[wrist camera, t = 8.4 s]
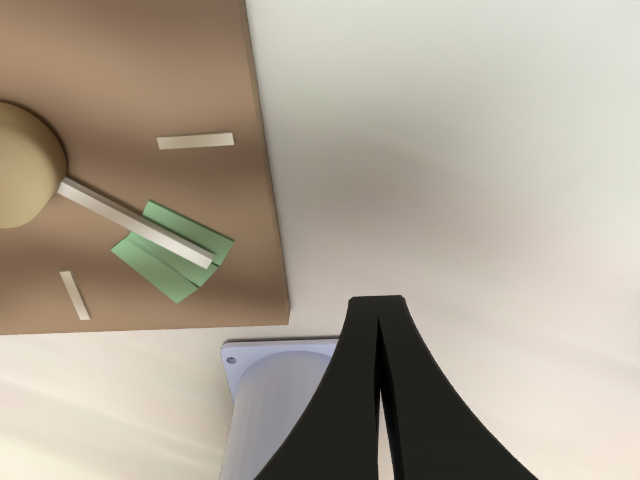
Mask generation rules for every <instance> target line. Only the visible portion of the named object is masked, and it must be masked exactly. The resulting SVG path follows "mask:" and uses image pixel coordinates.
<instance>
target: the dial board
mask: <svg viewBox="0 0 640 480" xmlns="http://www.w3.org/2000/svg"><path fill="white" fill-rule="evenodd" d="M0 102H3V103H7V104H11V105H14V106H16V107H19V108H21V109H23V110H25V111H27V112H29V113H30V114H32V115H34V116H35V117H36V118H38V119H39V120H40V121H41V122H42V123H43V124H45V125H46V126H47V127H48V128H49V130H50V131H51V132H52V133H53V134H54V136H55V137H56V138H57V140H58V142H59V144H60V145H61V148H62V150H63V152H64V156H65V159H66V177H67V178H68V179H70V180H72V181H74V182H76V183H78V184H80V185H82V186H84V187H86V188H88V189H89V190H91V191H93V192H95V193H97V194H99V195H101V196H103V197H105V198H107V199H109V200H110V201H112V202H114V203H116V204H118V205H120V206H122V207H124V208H126V209H128V210H130V211H131V212H133V213H135V214H137V215H139V216H141V217H143V218H145V219H147V220H149V221H151V222H152V223H154V224H156V225H158V226H160V227H162V228H164V229H166V230H168V231H170V232H172V233H174V234H175V235H177V236H179V237H181V238H183V239H185V240H187V241H189V242H191V243H193V244H195V245H196V246H198V247H200V248H202V249H204V250H206V251H208V252H210V253H212V254H214V258H213V260H212V262H211V263H210V265H209V266H208V268H207V269H205V268H203V267H201V266H199V265H197V264H195V263H193V262H191V261H189V260H187V259H186V258H184V257H182V256H180V255H178V254H176V253H174V252H172V251H170V250H168V249H166V248H164V247H162V246H160V245H158V244H156V243H154V242H152V241H150V240H148V239H147V238H145V237H143V236H141V235H139V234H137V233H135V232H133V231H131V230H129V229H127V228H125V227H123V226H121V225H119V224H117V223H115V222H113V221H111V220H109V219H108V218H106V217H104V216H102V215H100V214H98V213H96V212H94V211H92V210H90V209H88V208H86V207H84V206H82V205H80V204H78V203H76V202H74V201H72V200H70V199H69V198H67V197H65V196H63V195H61V194H59V193H56V194H55V195H54V196H53V197H52V199H51V200H50V201H49V202H48V203H47V204H46V205H45V206H44V207H43V208H42V210H41V211H40V212H39V213H38V214H37V215H36V216H35V217H34V218H33V219H32V220H31V221H29V222H27V223H26V224H23V225H21V226H18V227H14V228H0V335H17V334H45V333H73V332H101V331H128V330H156V329H184V328H212V327H240V326H268V325H288V323H289V315H290V303H289V296H288V290H287V283H286V276H285V269H284V263H283V256H282V249H281V242H280V236H279V229H278V222H277V215H276V209H275V202H274V195H273V188H272V182H271V175H270V168H269V161H268V155H267V148H266V141H265V135H264V128H263V121H262V114H261V108H260V101H259V94H258V87H257V81H256V74H255V67H254V60H253V54H252V47H251V40H250V33H249V27H248V20H247V13H246V6H245V0H0Z"/></svg>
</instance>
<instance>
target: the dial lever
mask: <svg viewBox="0 0 640 480" xmlns="http://www.w3.org/2000/svg"><path fill="white" fill-rule="evenodd" d="M56 193H59V194H61V195H63V196H65V197H67V198H69V199H70V200H72V201H74V202H76V203H78V204H80V205H82V206H84V207H86V208H88V209H90V210H92V211H94V212H96V213H98V214H100V215H102V216H104V217H106V218H108V219H109V220H111V221H113V222H115V223H117V224H119V225H121V226H123V227H125V228H127V229H129V230H131V231H133V232H135V233H137V234H139V235H141V236H143V237H145V238H147V239H148V240H150V241H152V242H154V243H156V244H158V245H160V246H162V247H164V248H166V249H168V250H170V251H172V252H174V253H176V254H178V255H180V256H182V257H184V258H186V259H187V260H189V261H191V262H193V263H195V264H197V265H199V266H201V267H203V268H205V269H207V268H208V266H209V265H210V263H211V262H212V260H213V258H214V254H212V253H210V252H208V251H206V250H204V249H202V248H200V247H198V246H196V245H195V244H193V243H191V242H189V241H187V240H185V239H183V238H181V237H179V236H177V235H175V234H174V233H172V232H170V231H168V230H166V229H164V228H162V227H160V226H158V225H156V224H154V223H152V222H151V221H149V220H147V219H145V218H143V217H141V216H139V215H137V214H135V213H133V212H131V211H130V210H128V209H126V208H124V207H122V206H120V205H118V204H116V203H114V202H112V201H110V200H109V199H107V198H105V197H103V196H101V195H99V194H97V193H95V192H93V191H91V190H89V189H88V188H86V187H84V186H82V185H80V184H78V183H76V182H74V181H72V180H70V179H68V178H67V177H66V159H65V156H64V152H63V150H62V148H61V145H60V144H59V142H58V140H57V138H56V137H55V136H54V134H53V133H52V132H51V131H50V130H49V128H48V127H47V126H46V125H45V124H43V123H42V122H41V121H40V120H39V119H38V118H36V117H35V116H34V115H32V114H30V113H29V112H27V111H25V110H23V109H21V108H19V107H16V106H14V105H11V104H7V103H3V102H0V228H14V227H18V226H21V225H23V224H26V223H27V222H29V221H31V220H32V219H33V218H34V217H35V216H36V215H37V214H38V213H39V212H40V211H41V210H42V208H43V207H44V206H45V205H46V204H47V203H48V202H49V201H50V200H51V199H52V197H53V196H54V195H55V194H56Z"/></svg>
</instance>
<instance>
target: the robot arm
mask: <svg viewBox="0 0 640 480" xmlns="http://www.w3.org/2000/svg"><path fill="white" fill-rule="evenodd" d="M221 357H222V361H223V365H224V369H225V372H226V376H227V380H228V384H229V388H230V392H231V396H232V400H233V403H234V409H233V414H232V419H231V424H230V429H229V434H228V438H227V443H226V448H225V453H224V458H223V463H222V467H221V472H220V477H219V480H379V478H378V435H379V409H380V390H381V396H382V402H383V409H384V415H385V421H386V427H387V433H388V440H389V446H390V452H391V458H392V464H393V472H394V480H538V479H537V478H536V477H535V476H534V475H533V474H532V473H531V472H530V471H528V470H527V469H526V468H525V467H524V466H523V465H522V464H521V463H520V462H519V461H518V460H517V459H516V458H515V457H514V456H513V455H512V454H511V453H510V452H509V451H508V450H507V449H506V448H505V447H504V446H503V445H502V444H501V443H500V442H499V441H498V440H497V439H496V438H495V437H494V436H493V435H492V434H491V433H490V432H489V431H488V430H487V428H486V427H485V426H484V425H483V424H482V423H481V422H480V420H479V419H478V418H477V417H476V416H475V415H474V413H473V412H472V411H471V410H470V409H469V407H468V406H467V405H466V404H465V402H464V401H463V400H462V398H461V397H460V396H459V395H458V393H457V392H456V391H455V389H454V388H453V386H452V385H451V384H450V382H449V381H448V379H447V378H446V376H445V375H444V373H443V372H442V370H441V369H440V367H439V366H438V364H437V363H436V361H435V360H434V358H433V356H432V355H431V353H430V351H429V349H428V348H427V346H426V344H425V343H424V341H423V339H422V337H421V335H420V334H419V332H418V330H417V328H416V326H415V324H414V321H413V319H412V317H411V315H410V312H409V310H408V307H407V305H406V301H405V298H403V297H402V296H401V295H389V296H361V297H352V298H351V299H350V300H349V302H348V309H347V314H346V318H345V322H344V325H343V328H342V332H341V335H340V337H339V339H321V340H291V341H261V342H232V343H225V344H224V345H223V346H222V348H221ZM229 357H233V358H234V359H232V358H229Z"/></svg>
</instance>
